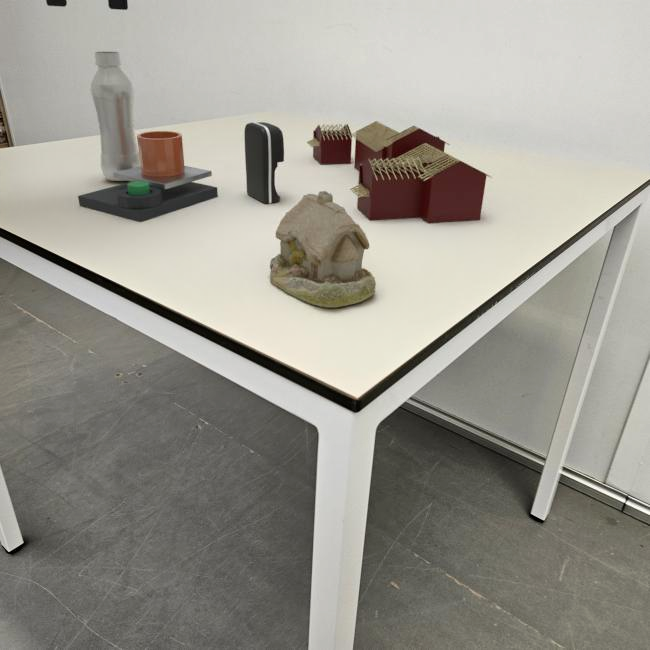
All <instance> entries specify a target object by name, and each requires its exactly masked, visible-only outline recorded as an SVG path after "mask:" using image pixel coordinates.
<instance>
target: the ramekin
mask: <svg viewBox="0 0 650 650" xmlns="http://www.w3.org/2000/svg"><path fill="white" fill-rule="evenodd" d="M136 142H137V148H138V152H139V158H140V167H141V173H142V174H144V175H147V176H152V177H169V176H176V175H180V174H182V173H184V172H185V166H186V165H185V156H184V144H183V134H182V133H180V132H177V131H172V130H154V131H153V130H152V131H151V130H150V131H145V132H140V133H138V134H137V135H136Z"/></svg>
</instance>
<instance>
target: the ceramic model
mask: <svg viewBox="0 0 650 650" xmlns="http://www.w3.org/2000/svg"><path fill="white" fill-rule="evenodd" d="M333 197H334V196H333V194H332V192H327V190H322V191H321V190H320V191H319V192H318V193H317V194H314V193H307V194H303V196H302V198H301V199H300V200H299V202H298V203H296V204H295V205H294V206H293V207H292V208H291V209H289V211H286V212H285V214H284V216H283V217H282V218H281V220H280V221H279V224H278V226H277V228H276V231H275V238H276V239H277V240H279V241H280V242H279V244H280V245H279V246H280V253H278V254H277V255H275V256H274V257H272V258H271V259H270V264H269V269H270V275H269V279H270V282H271V284H272V285H273V286H275V287H277V288H278V289H280V290H282V291H284V292H285V293H287V294H289V295H291V296H293V297H295V298H297V299H299V300H301V301H303V302H306V303H308V304H310V305H313V306H317V307H321V308H332V309H333V308H338V307H339V308H340V307H346V306H349V305H355V304H359V303H361V302H363V301H365V300H367V299H369V298H370V297H372V296H373V295H374V294H375V292H376V291H375V289H376V285H377V282H376V279H375V276H373V274H372V273H371V271H369V270H367V269H366V268H365V267H363V259H364V252H365V250H369V248H370V243H369V240H368V237H367V235H366V232H365V231H364V230H363V229H362V228H361V226H360V224H359V223H356V221H355V220H354V219H353V218H352V217H351V215H350V214H349V213H348V212H347V211H346V208H345V207H343V206H341V205H340V204H338V203H336V202H334V198H333Z"/></svg>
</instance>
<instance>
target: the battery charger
mask: <svg viewBox="0 0 650 650" xmlns="http://www.w3.org/2000/svg"><path fill="white" fill-rule="evenodd" d="M244 156H245V157H244V160H245V175H246V176H245V177H246V193H247V195H249V196H250V197H252V198H254V199H255V200H257V201H259V202H261V203H263V204H272V203H276V202H279V201H280V200H281V196H280V195H279V194H278V192H277V189H276V183H275V181H276V180H275V179H276V170H277V168H278V165H279V163H284V161H285V143H284V134H283V131H282V130H281V128H280V127H278V126H277V125H274V124H272V123H269V122H265V121H259V122H255V121H253V122H252V121H251V122H248V123H246V125H245V127H244Z"/></svg>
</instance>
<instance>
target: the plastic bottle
mask: <svg viewBox="0 0 650 650" xmlns="http://www.w3.org/2000/svg"><path fill="white" fill-rule="evenodd" d="M94 58H95V61H94V63H95V64H94V65H95V66H97V71H96V72H95V74H94V76H93V78H92V81H91V83H90V93H91V97H92V101H93V104H94V108H95V112H96V116H97V122H98V124H99V125H98V126H99V127H98V129H99V133H100V151H101V153H100V169H101V172H102V175H103V176H104V177H105V179H107V180H109V181H113V182H114V181H115V182H127V181H126V180H121V179H117V178H114V177H113V173H114V172H118V171H122V170H126V169H130V168H134V167H139V166H140V158H139V150H138V142H137V137H136V133H135V125H134V122H135V121H134V99H135V98H134V85H133V83H132V81H131V80H130V78H129V77H128V76H127V74H126V73H125V72H124V71H123V70H122V68H121V66H122V65H123V63H122V59H121V53H120V52H119V51H94Z"/></svg>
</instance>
